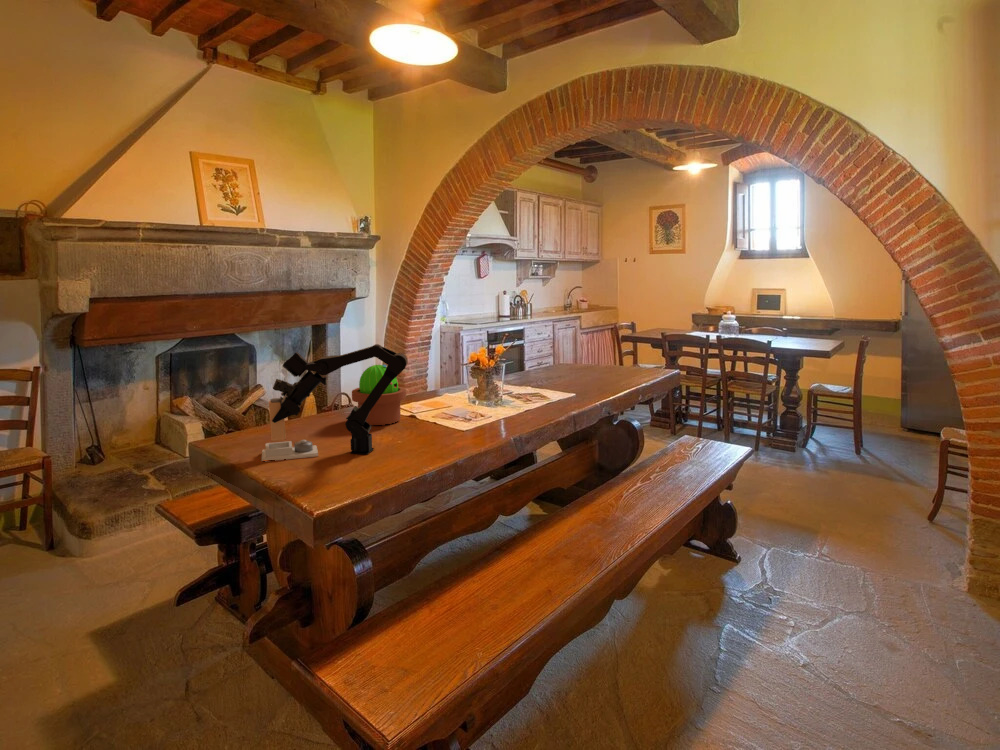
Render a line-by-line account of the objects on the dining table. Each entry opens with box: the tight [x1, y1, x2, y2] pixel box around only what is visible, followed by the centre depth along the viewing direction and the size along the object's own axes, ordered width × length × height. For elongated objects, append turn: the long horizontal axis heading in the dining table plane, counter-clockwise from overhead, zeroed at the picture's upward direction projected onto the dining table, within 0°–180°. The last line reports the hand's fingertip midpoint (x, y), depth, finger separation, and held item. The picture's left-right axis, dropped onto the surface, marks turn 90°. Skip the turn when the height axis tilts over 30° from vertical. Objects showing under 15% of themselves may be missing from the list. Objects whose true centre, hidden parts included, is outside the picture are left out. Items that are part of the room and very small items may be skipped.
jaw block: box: [268, 397, 287, 442], centre depth 198 cm, size 4×4×14 cm
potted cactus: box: [351, 363, 407, 426], centre depth 247 cm, size 22×22×25 cm
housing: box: [261, 439, 319, 462], centre depth 201 cm, size 18×10×5 cm, turn 110°
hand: (273, 420), depth 198 cm, fingers closed on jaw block, 4 cm apart
